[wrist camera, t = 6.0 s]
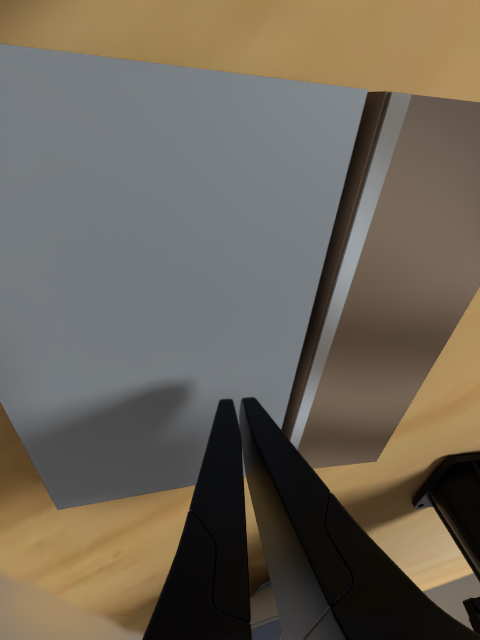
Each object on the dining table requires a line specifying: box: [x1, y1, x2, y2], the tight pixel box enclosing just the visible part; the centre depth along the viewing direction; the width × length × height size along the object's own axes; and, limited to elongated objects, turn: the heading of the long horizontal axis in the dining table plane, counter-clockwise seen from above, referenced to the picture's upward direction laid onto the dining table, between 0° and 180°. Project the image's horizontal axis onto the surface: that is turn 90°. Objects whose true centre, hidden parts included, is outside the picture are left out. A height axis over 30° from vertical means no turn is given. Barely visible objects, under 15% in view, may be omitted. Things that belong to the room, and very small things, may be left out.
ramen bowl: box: [250, 580, 284, 640], centre depth 29 cm, size 25×23×8 cm
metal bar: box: [281, 91, 480, 469], centre depth 13 cm, size 16×6×2 cm, turn 175°
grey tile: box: [0, 44, 368, 510], centre depth 11 cm, size 16×10×1 cm, turn 175°
